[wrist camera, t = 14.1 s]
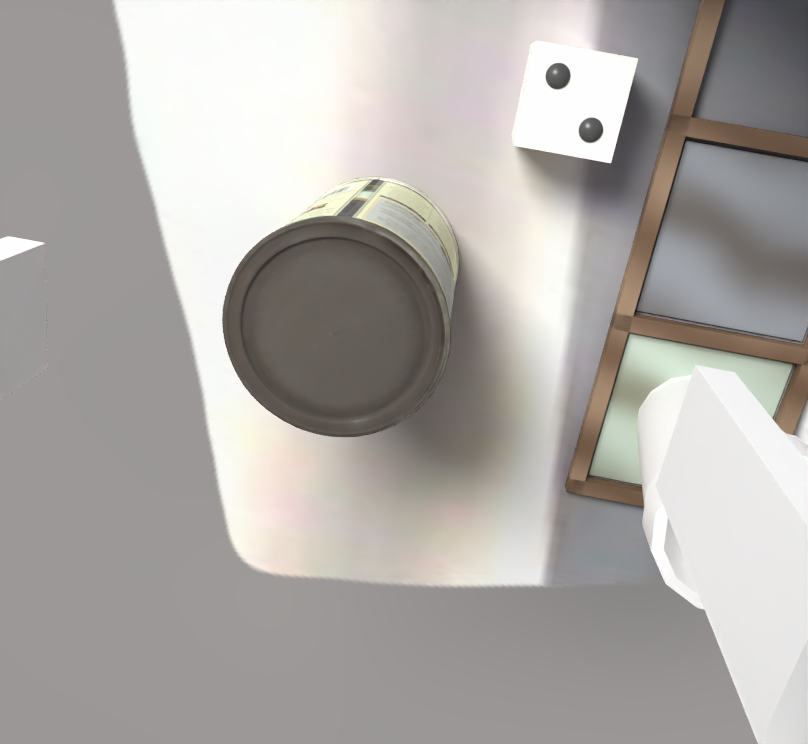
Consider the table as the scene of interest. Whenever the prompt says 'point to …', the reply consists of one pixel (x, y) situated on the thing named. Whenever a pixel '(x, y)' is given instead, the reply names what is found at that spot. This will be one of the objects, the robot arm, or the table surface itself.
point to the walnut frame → (704, 279)
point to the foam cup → (653, 445)
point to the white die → (573, 101)
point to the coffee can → (346, 309)
